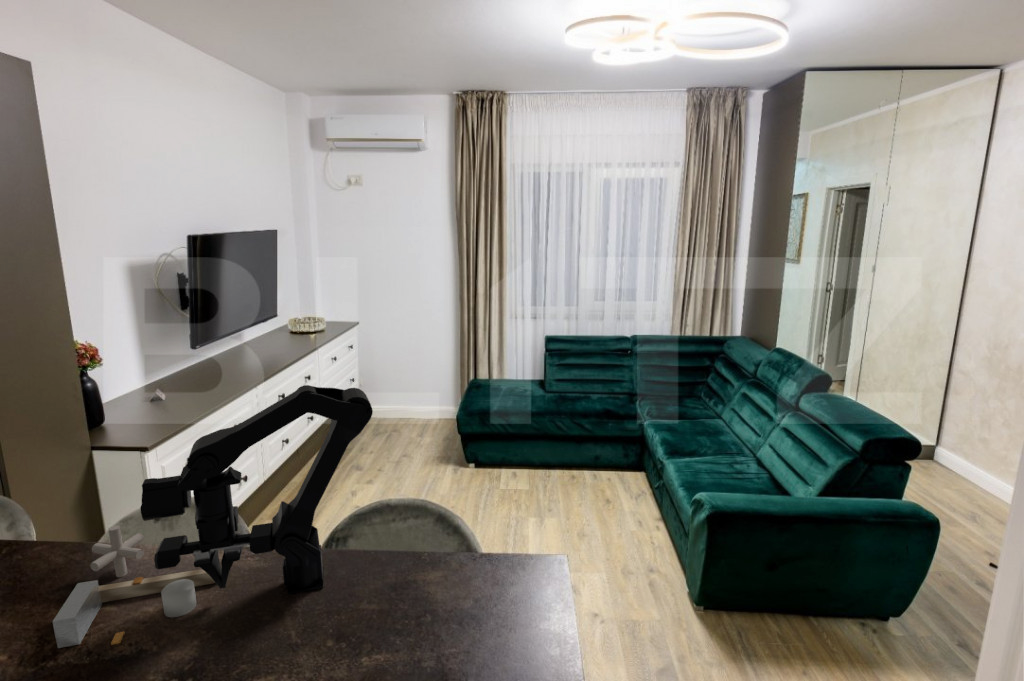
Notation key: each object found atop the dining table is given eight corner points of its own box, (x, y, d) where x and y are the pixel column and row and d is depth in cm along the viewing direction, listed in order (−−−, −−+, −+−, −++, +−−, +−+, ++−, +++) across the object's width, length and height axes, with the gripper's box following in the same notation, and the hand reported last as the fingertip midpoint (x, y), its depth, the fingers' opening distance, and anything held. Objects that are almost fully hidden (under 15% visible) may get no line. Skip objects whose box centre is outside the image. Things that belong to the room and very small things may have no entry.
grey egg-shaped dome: (199, 596, 104) (196, 576, 103) (193, 614, 100) (190, 594, 99) (168, 601, 103) (165, 582, 102) (160, 620, 98) (157, 599, 97)
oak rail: (224, 576, 110) (222, 563, 109) (222, 581, 108) (221, 568, 108) (90, 599, 103) (88, 585, 103) (87, 605, 102) (84, 591, 101)
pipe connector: (121, 594, 105) (113, 545, 102) (76, 587, 106) (67, 539, 104) (164, 562, 114) (157, 517, 112) (122, 556, 116) (114, 511, 114)
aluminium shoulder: (102, 604, 102) (97, 580, 101) (79, 644, 92) (74, 617, 91) (82, 608, 101) (77, 583, 100) (57, 648, 92) (52, 621, 90)
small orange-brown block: (124, 633, 95) (124, 631, 95) (119, 643, 93) (119, 641, 93) (116, 634, 95) (115, 633, 95) (111, 644, 92) (110, 643, 92)
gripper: (275, 480, 110) (281, 553, 113) (165, 494, 104) (175, 570, 107) (270, 508, 99) (277, 587, 103) (148, 525, 94) (160, 608, 97)
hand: (223, 586), depth 103 cm, fingers closed
